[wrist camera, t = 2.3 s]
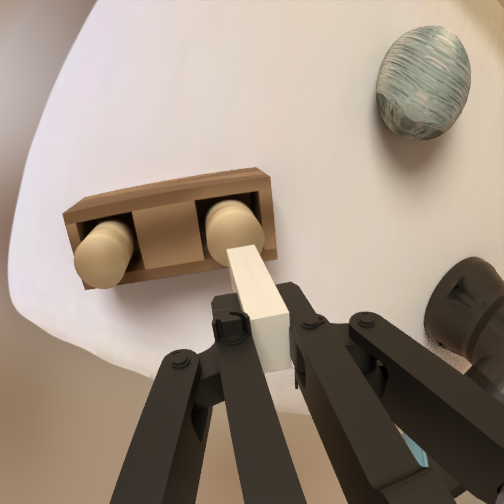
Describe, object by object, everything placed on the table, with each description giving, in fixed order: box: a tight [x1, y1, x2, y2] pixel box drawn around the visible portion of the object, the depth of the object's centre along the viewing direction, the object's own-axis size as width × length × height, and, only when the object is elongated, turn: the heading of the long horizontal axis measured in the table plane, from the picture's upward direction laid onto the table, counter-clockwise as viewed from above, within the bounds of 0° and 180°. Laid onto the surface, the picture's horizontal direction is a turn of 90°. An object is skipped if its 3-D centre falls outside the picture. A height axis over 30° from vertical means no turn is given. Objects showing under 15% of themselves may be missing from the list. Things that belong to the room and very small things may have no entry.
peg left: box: [74, 218, 136, 289], centre depth 23 cm, size 4×4×5 cm
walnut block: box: [63, 167, 277, 290], centre depth 27 cm, size 7×17×6 cm, turn 96°
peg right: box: [205, 197, 265, 267], centre depth 24 cm, size 4×4×5 cm
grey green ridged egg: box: [376, 26, 471, 141], centre depth 25 cm, size 14×10×10 cm
